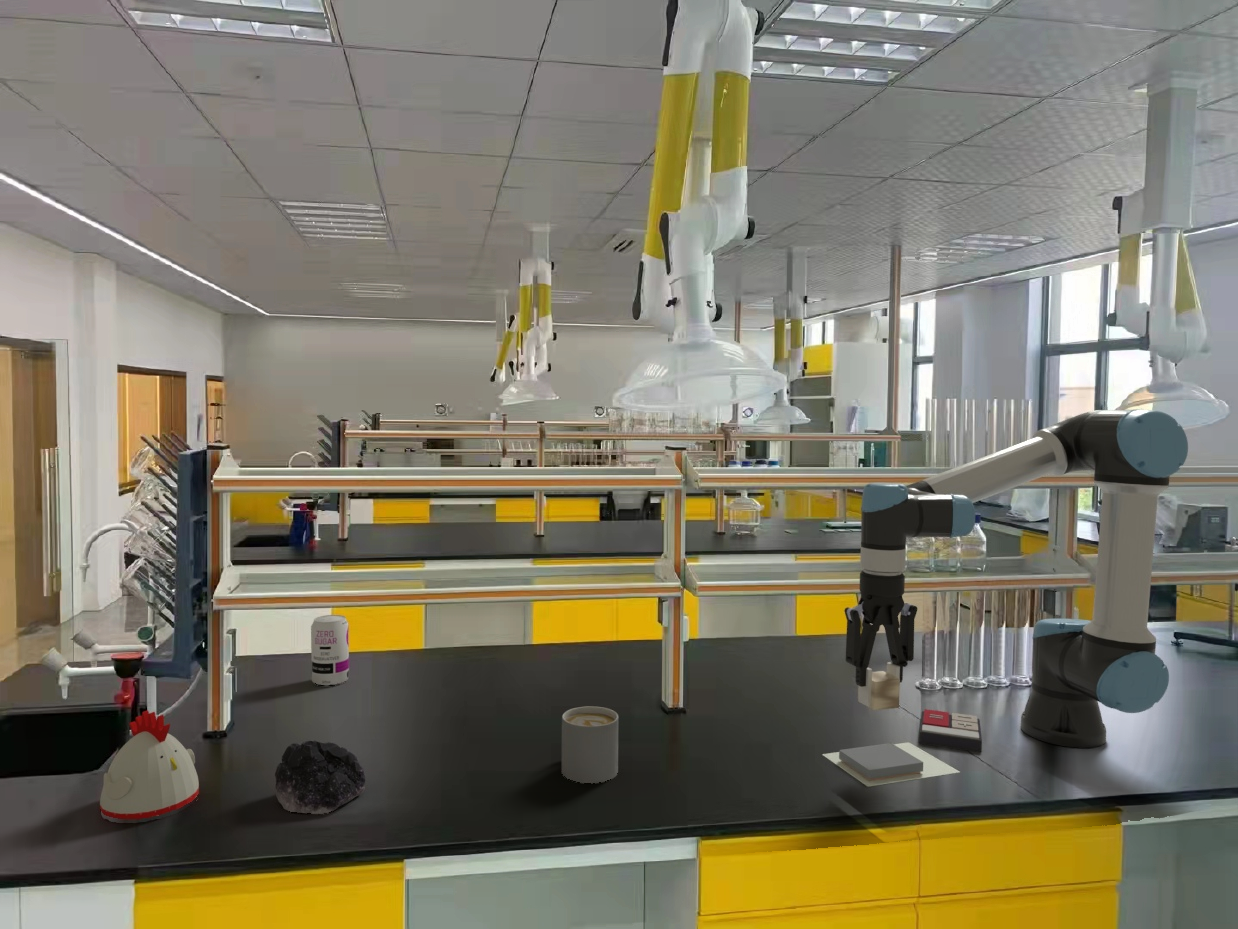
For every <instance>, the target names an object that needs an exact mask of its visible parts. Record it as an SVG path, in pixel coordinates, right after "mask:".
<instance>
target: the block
mask: <svg viewBox="0 0 1238 929" xmlns="http://www.w3.org/2000/svg"><path fill="white" fill-rule="evenodd" d="M900 691H901V683H900V679H898V678H896V677H894V676H892V675H890V674H888V673H887V671H884V670H878V671H872V683H871V706H868V708H869V709H871V710H873V711H883V710H889V709H897V708H898V709H900ZM857 692H858V693H857V699H858V698H859V685H857Z"/></svg>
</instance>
